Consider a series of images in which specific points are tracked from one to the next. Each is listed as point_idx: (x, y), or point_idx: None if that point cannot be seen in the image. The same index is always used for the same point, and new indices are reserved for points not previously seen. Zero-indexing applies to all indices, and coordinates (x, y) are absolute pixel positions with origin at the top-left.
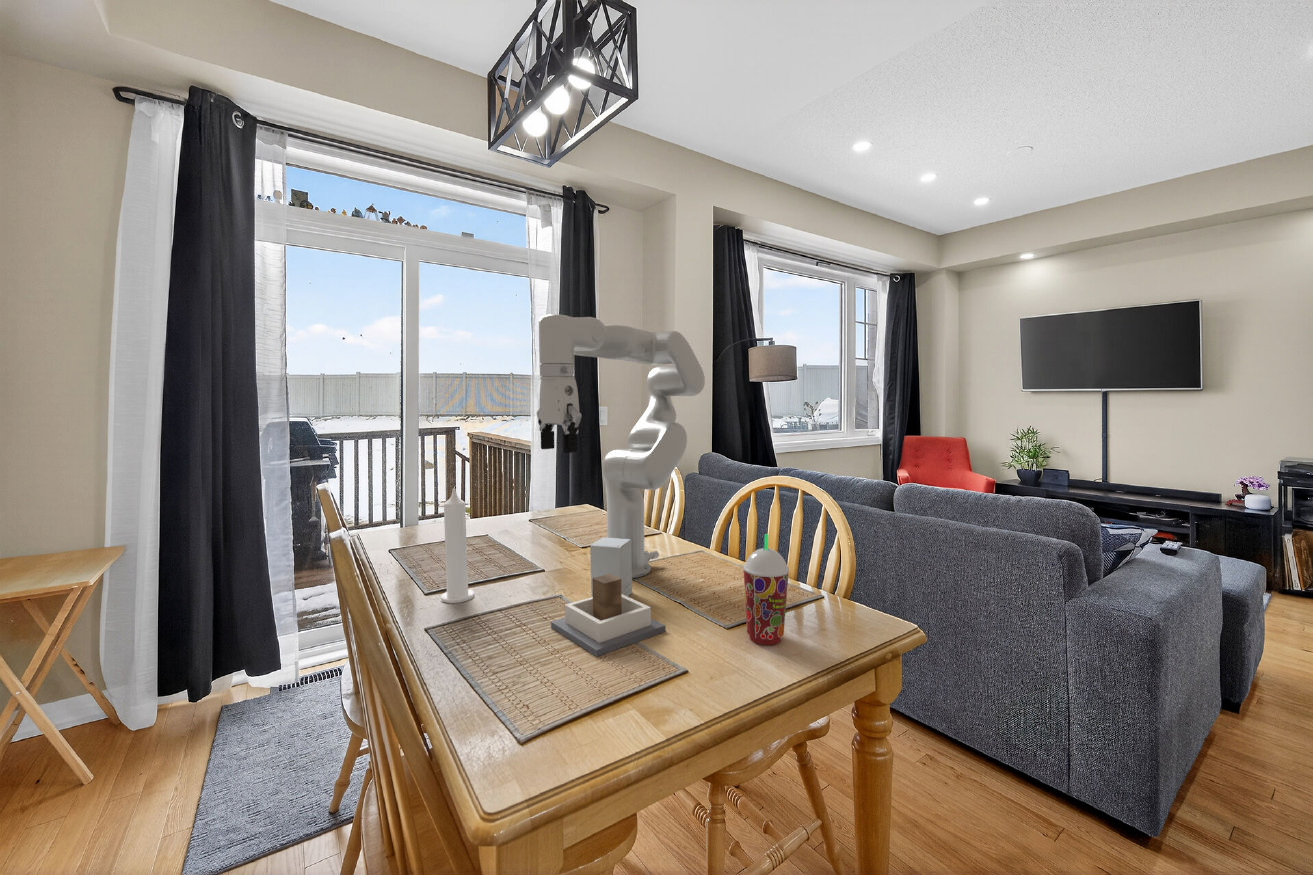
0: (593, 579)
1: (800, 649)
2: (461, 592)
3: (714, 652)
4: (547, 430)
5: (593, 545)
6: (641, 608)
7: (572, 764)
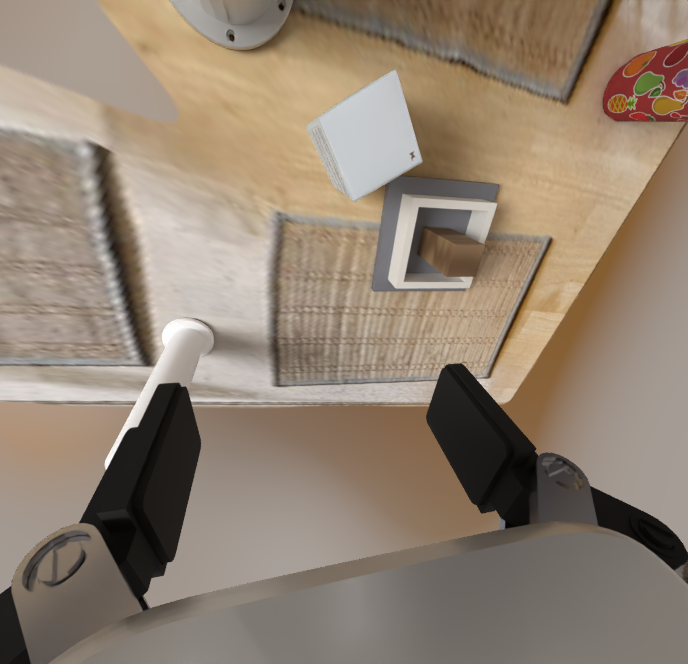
0: (448, 276)
1: None
2: (202, 343)
3: (566, 182)
4: (145, 560)
5: (360, 196)
6: (488, 216)
7: (524, 364)
